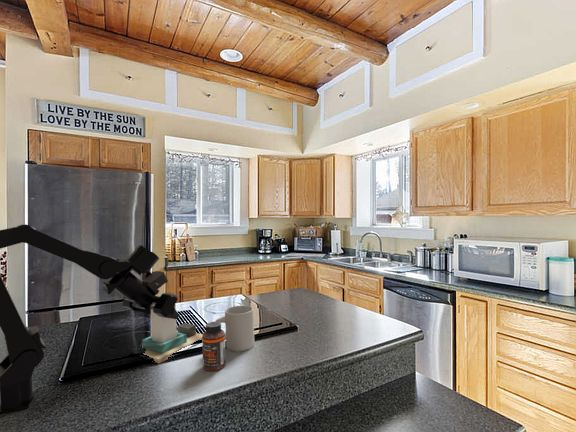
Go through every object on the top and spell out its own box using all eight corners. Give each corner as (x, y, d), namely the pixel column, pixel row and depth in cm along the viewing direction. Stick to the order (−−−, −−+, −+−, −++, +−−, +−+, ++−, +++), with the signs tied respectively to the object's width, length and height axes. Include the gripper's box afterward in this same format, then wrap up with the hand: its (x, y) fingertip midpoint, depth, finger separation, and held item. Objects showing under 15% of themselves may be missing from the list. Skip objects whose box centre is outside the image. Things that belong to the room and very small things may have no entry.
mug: (250, 337, 103) (248, 303, 102) (258, 347, 95) (256, 311, 95) (212, 345, 98) (210, 309, 98) (217, 356, 90) (216, 318, 90)
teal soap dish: (159, 363, 87) (158, 348, 87) (130, 353, 94) (129, 339, 94) (207, 339, 103) (206, 326, 103) (179, 332, 109) (179, 320, 109)
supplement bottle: (199, 371, 82) (197, 327, 82) (208, 360, 88) (206, 319, 88) (221, 372, 81) (219, 328, 81) (229, 361, 87) (227, 320, 87)
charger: (163, 349, 93) (161, 307, 93) (152, 346, 96) (150, 305, 96) (177, 343, 98) (175, 302, 97) (166, 340, 100) (164, 300, 100)
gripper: (170, 265, 88) (202, 295, 97) (130, 262, 98) (162, 289, 107) (146, 302, 81) (182, 330, 91) (105, 294, 91) (142, 320, 101)
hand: (167, 315), depth 98 cm, fingers open, 9 cm apart
